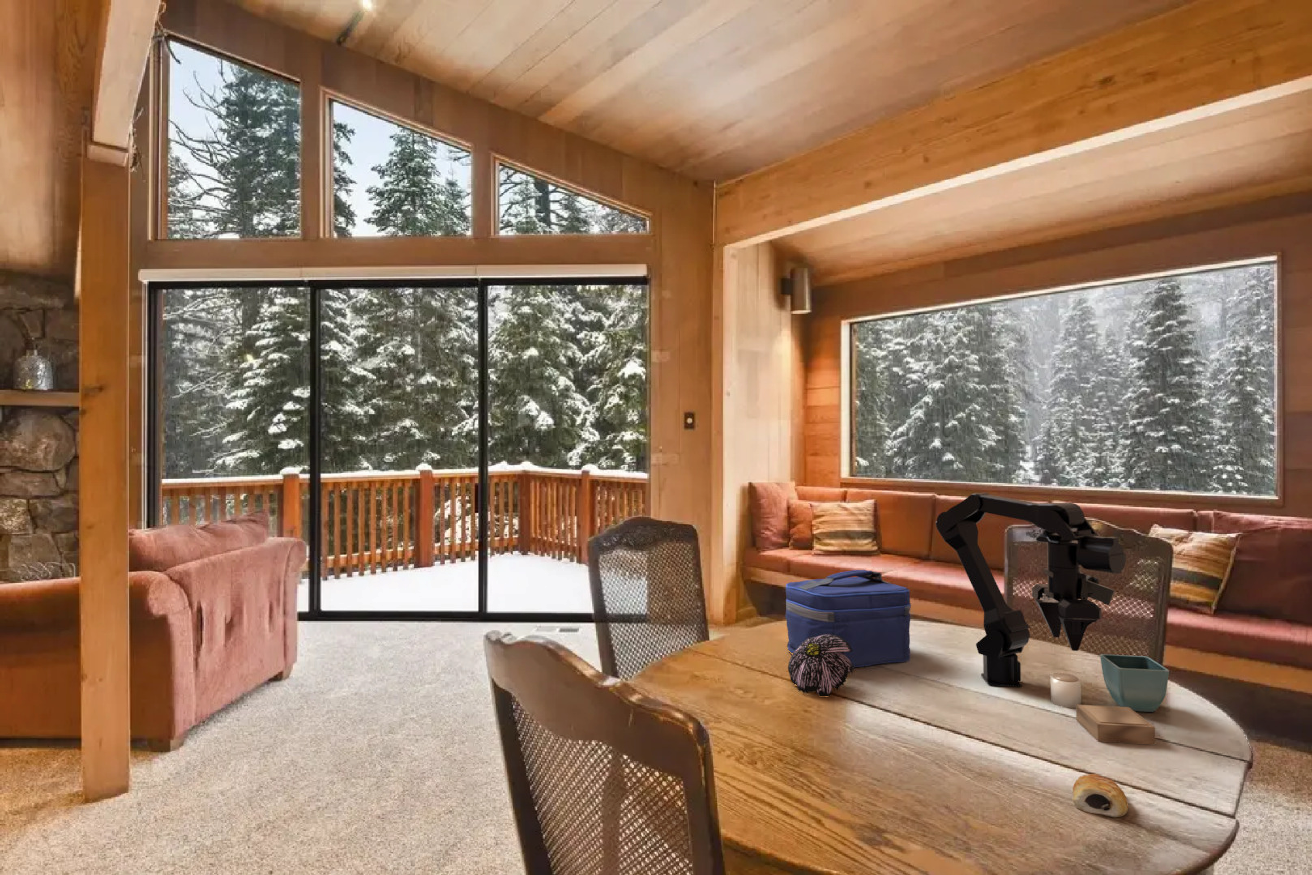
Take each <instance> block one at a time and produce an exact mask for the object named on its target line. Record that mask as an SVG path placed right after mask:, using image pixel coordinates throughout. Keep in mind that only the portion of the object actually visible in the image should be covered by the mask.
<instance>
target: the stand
mask: <svg viewBox="0 0 1312 875" xmlns="http://www.w3.org/2000/svg"><path fill="white" fill-rule="evenodd" d="M1075 711H1076V712H1075V714H1076V716H1075V717H1076V718H1075V720H1077V721H1076V723H1078V724H1079V723H1080V724H1081V725H1080V724H1079V725H1080V726H1081V727H1082V728H1083V729H1084V730H1086V732H1088V733H1089V734H1090V735H1091V737H1093V738H1094V739H1095V740H1096V741H1097V742H1102V741H1104V743H1121V744H1137V745H1138V744H1139V745H1153V744H1155V745H1156V727H1155V726H1154V725H1153V724H1152V723H1150V722H1149V721H1148V720H1146V719H1145V718H1143V717H1142V716H1141V715H1140V714H1139V713H1137V711H1133V710H1132V709H1131V708H1129V707H1121V706H1109V705H1090V704H1081V705H1076V708H1075Z"/></svg>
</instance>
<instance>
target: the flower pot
mask: <svg viewBox="0 0 1312 875" xmlns="http://www.w3.org/2000/svg"><path fill="white" fill-rule="evenodd" d="M1099 657H1100V665H1101V672H1102V678H1103V682H1104V684H1105V686H1106V689H1107V691H1108V693H1109V695H1110V696H1111V698H1112V700H1113V701H1114V702H1115V703H1116V704H1117V705H1118V706H1119V707H1129V708H1131V709H1132V710H1133V711H1135V712H1143V713H1144V712H1147V713H1153V712H1155V711H1156V710H1157V709H1158V708H1159V707H1160V706H1161V705H1162V703H1163V701H1164V700H1165V697H1166V694H1167V689H1168V680H1169V674H1170V670H1169V669H1168V668H1166V667H1164V666H1163V665H1162V664H1160V663H1158V662H1157V661H1155V660H1153V659H1152V658H1150V657H1149V656H1144V655H1120V654H1104V653H1103V654H1102V653H1101V654H1099Z"/></svg>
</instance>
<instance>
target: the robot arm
mask: <svg viewBox="0 0 1312 875" xmlns="http://www.w3.org/2000/svg"><path fill="white" fill-rule="evenodd" d="M986 514H992V515H997V516H1001V517H1006V518H1011V519H1014V520H1015V519H1016V520H1021V521H1026V522H1028V523H1030V524H1032V525H1034V526H1035V527H1037V528H1040V529H1042V530H1043V532H1041V534H1040V535H1038V536H1036V538H1035V540H1036V542H1042V543H1046V555H1047V556H1046V557H1047V558H1046V562H1047V563H1046V564H1047V565H1046V566H1047V568H1043V574H1045V575H1046V576H1047V584H1044V583H1043V584H1041V583H1036V584H1035V585H1034V586H1033V587H1032V588H1031V596H1032V597H1031V598H1033V599H1034V602H1035V603H1036V605H1037V607H1038V609H1039V611H1040V613H1041V615H1042V617H1043V619H1044V621H1045V622H1046V624H1047V626H1048V629H1049V631H1050V633H1051V635H1052V637H1053V638H1060V636H1061V631H1062V629H1063V631H1064V633H1065V634H1064V635H1065V637H1066V640H1067V643H1068V644H1069V647H1070V649H1071V651H1073V652H1078V651H1079V650H1080V646H1081V644H1082V641H1083V638H1084V635H1085V632H1086V630H1087V627H1088V626H1090V625H1091V624H1093V623H1097V621H1098V620H1102V608H1101V607H1100V606H1099V605H1097V604H1096V602H1095V603H1094V602H1092V601H1091V600H1089V598H1090V599H1093V600H1096V601H1098V602H1101V603H1102V604H1104V605H1107V606H1110V604H1111V603H1112V602H1111V601H1113V600H1112V599H1113V597H1114V594H1115V592H1116V590H1114V589H1112V588H1110V587H1108V586H1105V585H1103V584H1100V582H1099V579H1098V578H1097V577H1095V576H1092V575H1088V574H1085V573H1084V572H1082V571H1081V568H1083V569H1084V570H1088V571H1094V572H1095V571H1096V572H1101V573H1102V572H1103V573H1108V574H1117V575H1118V574H1120V573H1122V572H1123V570H1124V569H1125V566H1126V560H1127V556H1126V555H1127V554H1126V553H1125V551H1124V548H1123V546H1122V545H1121V544H1120V541H1119V540H1120V539H1119V537H1118V536H1117V537H1116V536H1099V535H1098V533H1097V532H1096V530H1095V529H1094V528H1093V526H1091V524H1090V523H1089V521H1088V520H1087V519H1086V517H1085V514H1084V511H1083V510H1082V508H1081V506H1080V505H1079V504H1076V503H1075V502H1032V501H1027V500H1021V499H1016V498H1010V497H1006V496H1000V495H999V496H998V495H995V494H989V493H987V492H980V493H979V492H977V493H972V494H969V495H968V496H967V497H966V498H965V499H963V501H961V502H959V503H957V504H956V505H954V506H952V507H950V508H949V509H948V510H947V511H946V510H945V511H942V512H941V513H939V514H938V516H937V517H936V520H935V527H936V529H937V531H938V533H939V534H940V535H939V536H941V538H942V539H943V541H944V542H945V543H946V544H948V546H950V548H952V549H953V550H955V553H956V554H957V556H958V559H959V560H960V563H961V565H962V567H963V569H964V571H965V574H966V576H967V578H968V580H969V582H970V584H971V586H972V588H973V591H974V592H975V594H976V597H977V599H978V601H979V604H980V606H981V608H982V610H983V628H984V631H985V635H984V636H983V637H982V638H981V639H980V640H979V641H977V642H976V643H975V647H976V650H977V653H978V654H979V655H982V659H983V660H982V661H983V662H982V664H983V665H982V667H983V669H982V670H983V672H982V673H980V675H981V677H982V679H983V680H984V681H985V682H986V683H987V685H988V686H997V687H998V686H999V687H1020V688H1021V687H1022V684H1021V681H1022V677H1021V676H1022V672H1021V671H1022V670H1021V665H1022V664H1021V662H1020V661H1019V655H1017V654H1021V653H1022V652H1023V650H1024V648H1025V646H1026V645H1027V644H1028V643H1029V641H1030V638H1031V633H1030V631H1029V629H1030V628H1031V626H1030V625H1029V624H1028V623H1027V622H1026V620H1025V617H1024V613H1023V612H1022V611H1021V609H1016V610H1013V608H1011V607H1010V606H1009V605H1008V604H1007V603H1006V600H1005V598H1004V596H1003V595H1002V592H1001V590H1000V587H999V586H998V584H997V582H996V579H995V577H994V575H993V574H992V571H991V569H990V566H989V565H988V563H987V561H986V559H985V557H984V555H983V553H982V550H981V548H980V546H979V544H978V543H979V542H978V541H979V529H978V525H977V524H978V523H980V521H982V519H983V518H984V517H985V515H986Z"/></svg>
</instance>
